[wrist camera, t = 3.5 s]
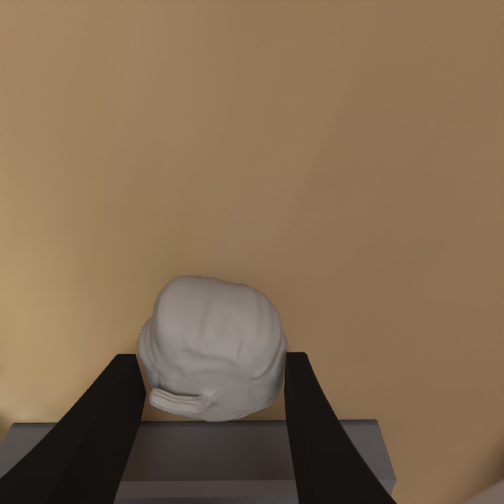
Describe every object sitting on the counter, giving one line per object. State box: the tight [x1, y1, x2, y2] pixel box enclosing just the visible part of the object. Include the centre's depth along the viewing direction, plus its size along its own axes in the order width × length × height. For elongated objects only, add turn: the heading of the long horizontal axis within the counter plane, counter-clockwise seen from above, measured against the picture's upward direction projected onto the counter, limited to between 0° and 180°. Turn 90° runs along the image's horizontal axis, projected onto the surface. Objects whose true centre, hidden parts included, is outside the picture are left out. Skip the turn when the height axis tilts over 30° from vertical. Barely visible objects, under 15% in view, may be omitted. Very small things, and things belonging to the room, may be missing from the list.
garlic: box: [138, 276, 289, 422], centre depth 13 cm, size 6×5×5 cm
